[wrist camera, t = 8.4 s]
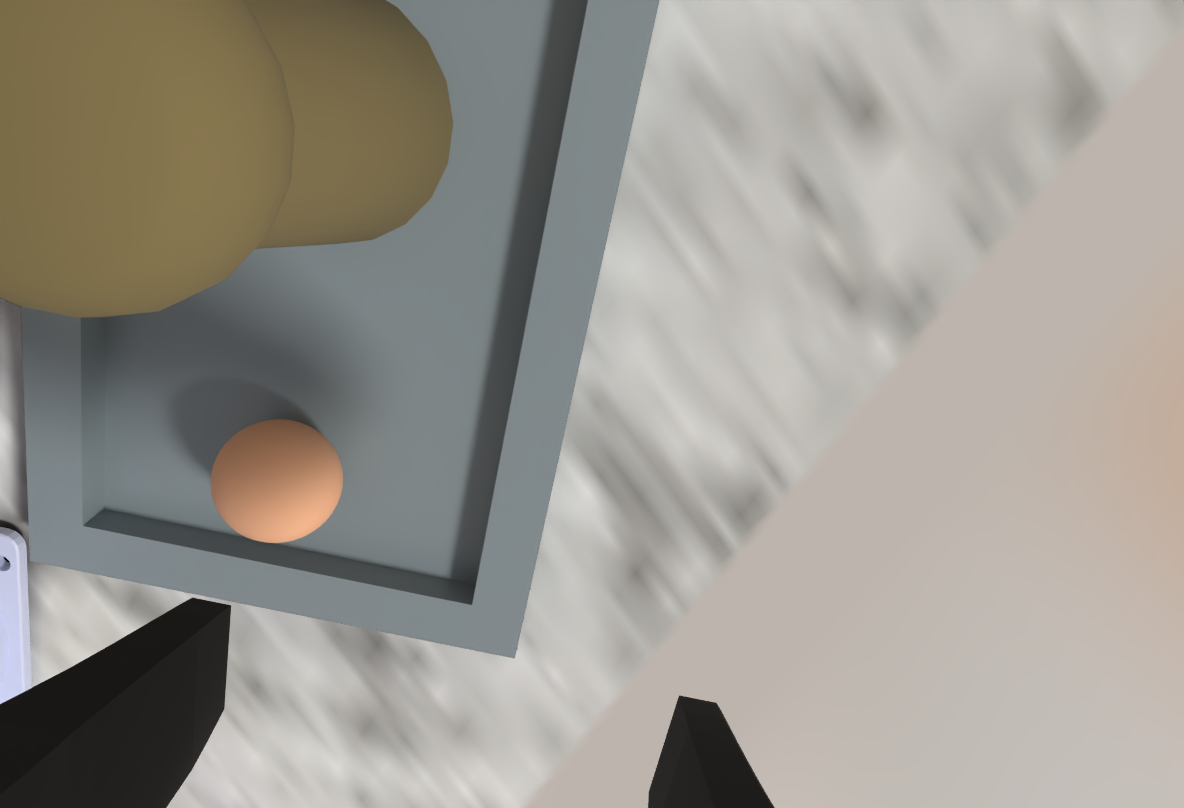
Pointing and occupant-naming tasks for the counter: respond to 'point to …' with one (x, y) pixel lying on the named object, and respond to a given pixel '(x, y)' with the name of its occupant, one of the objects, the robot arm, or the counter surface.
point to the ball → (276, 481)
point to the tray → (369, 360)
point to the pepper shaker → (203, 140)
